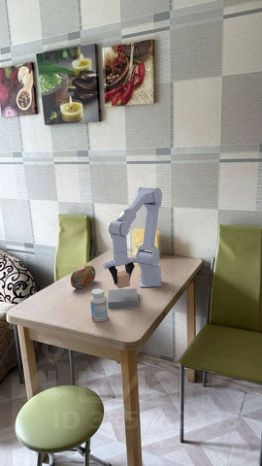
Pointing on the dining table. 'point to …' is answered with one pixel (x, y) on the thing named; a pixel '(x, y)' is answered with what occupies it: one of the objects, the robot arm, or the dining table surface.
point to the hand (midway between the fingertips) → (122, 281)
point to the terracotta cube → (122, 279)
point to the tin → (82, 277)
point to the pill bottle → (98, 305)
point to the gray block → (122, 298)
